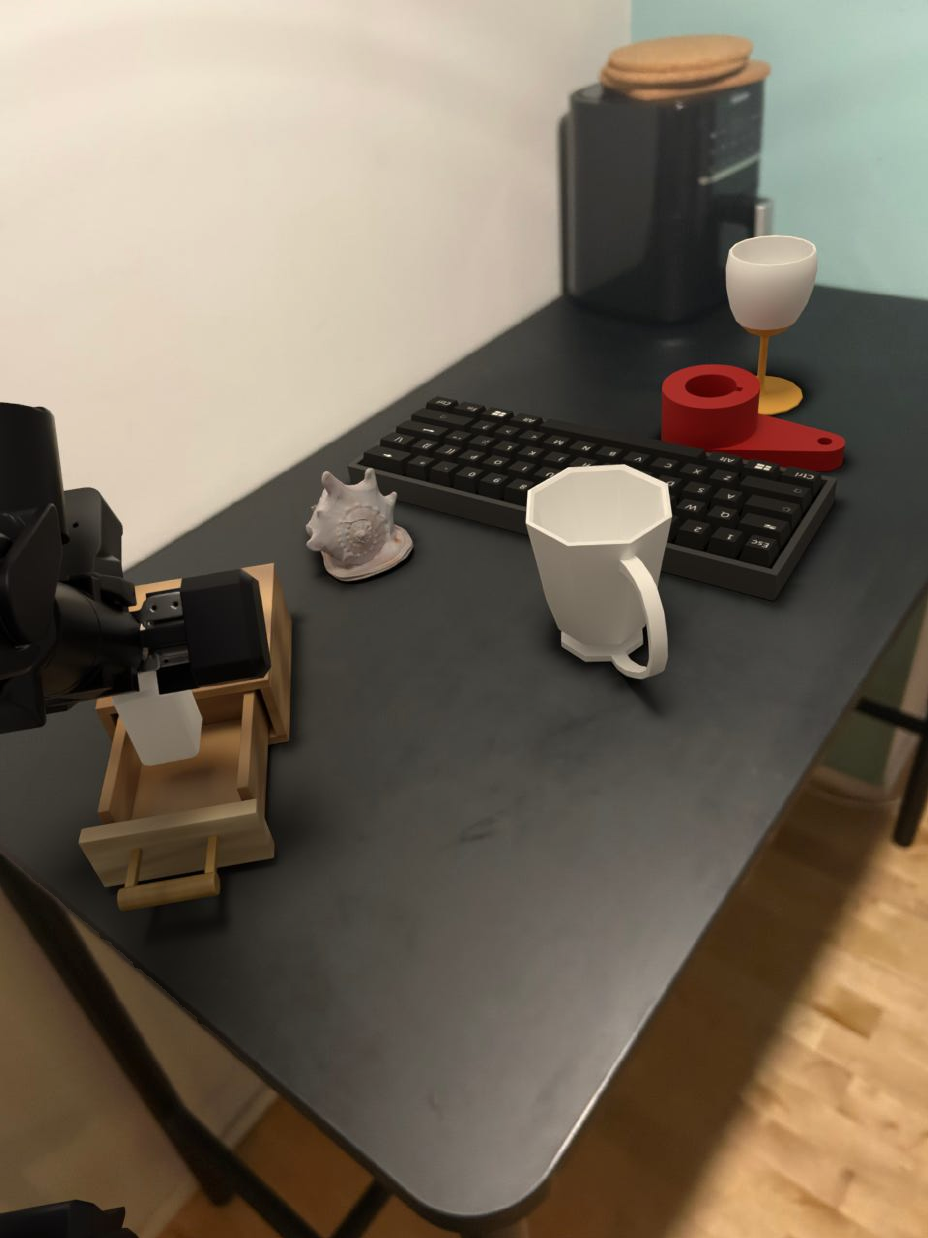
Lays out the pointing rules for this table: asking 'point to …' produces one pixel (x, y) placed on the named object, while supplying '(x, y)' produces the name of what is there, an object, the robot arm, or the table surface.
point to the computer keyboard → (539, 449)
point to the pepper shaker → (160, 721)
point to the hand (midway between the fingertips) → (145, 659)
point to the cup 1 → (603, 561)
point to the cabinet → (271, 685)
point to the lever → (739, 421)
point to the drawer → (185, 808)
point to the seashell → (356, 529)
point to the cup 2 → (771, 301)
